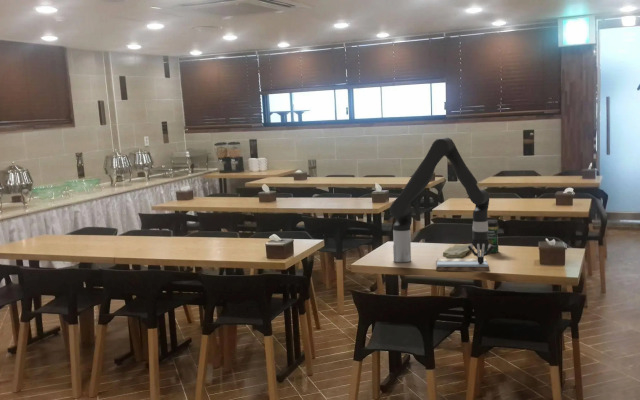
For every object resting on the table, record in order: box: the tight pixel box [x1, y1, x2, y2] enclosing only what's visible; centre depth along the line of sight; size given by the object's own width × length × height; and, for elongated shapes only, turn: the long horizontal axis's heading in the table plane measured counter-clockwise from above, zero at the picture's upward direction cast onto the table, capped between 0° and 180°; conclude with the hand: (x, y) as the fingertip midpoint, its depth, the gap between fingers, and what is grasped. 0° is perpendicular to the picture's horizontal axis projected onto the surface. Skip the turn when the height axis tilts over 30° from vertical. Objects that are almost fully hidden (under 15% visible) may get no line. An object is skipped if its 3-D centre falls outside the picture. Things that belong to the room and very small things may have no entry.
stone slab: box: [442, 243, 471, 259], centre depth 349 cm, size 12×4×30 cm
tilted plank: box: [436, 260, 489, 267], centre depth 313 cm, size 25×8×1 cm, turn 80°
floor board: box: [435, 258, 490, 272], centre depth 316 cm, size 26×16×3 cm, turn 80°
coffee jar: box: [484, 219, 500, 254], centre depth 347 cm, size 10×8×19 cm
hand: (480, 263), depth 309 cm, fingers closed
